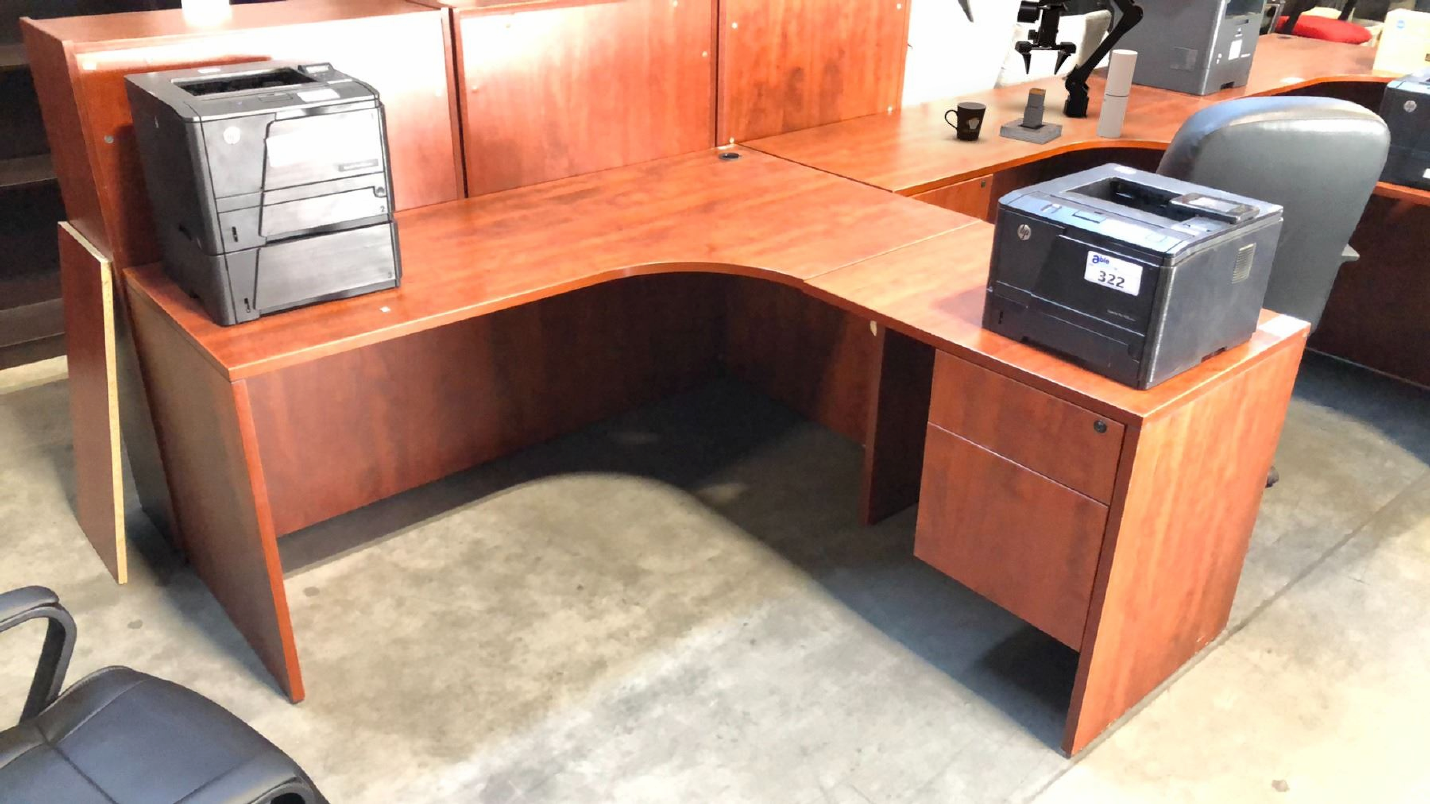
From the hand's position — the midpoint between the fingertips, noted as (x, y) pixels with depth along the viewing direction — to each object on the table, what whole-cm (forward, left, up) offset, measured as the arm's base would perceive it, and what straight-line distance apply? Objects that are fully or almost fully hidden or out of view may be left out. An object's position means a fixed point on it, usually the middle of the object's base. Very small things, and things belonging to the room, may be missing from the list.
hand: (1041, 74), depth 344 cm
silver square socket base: (+10, +31, -12) cm, 35 cm away
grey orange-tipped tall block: (+10, +31, -12) cm, 35 cm away
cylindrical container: (-15, +29, -12) cm, 35 cm away
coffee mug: (+32, +35, -12) cm, 49 cm away
